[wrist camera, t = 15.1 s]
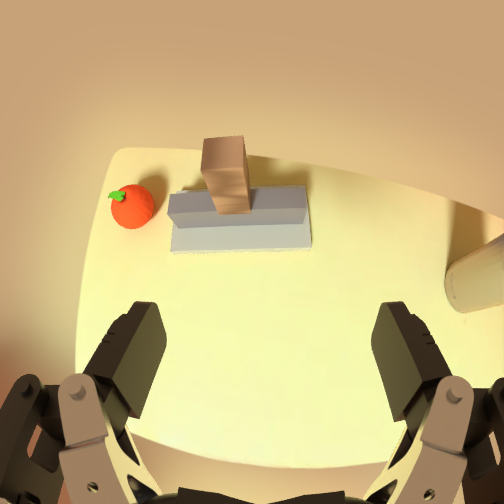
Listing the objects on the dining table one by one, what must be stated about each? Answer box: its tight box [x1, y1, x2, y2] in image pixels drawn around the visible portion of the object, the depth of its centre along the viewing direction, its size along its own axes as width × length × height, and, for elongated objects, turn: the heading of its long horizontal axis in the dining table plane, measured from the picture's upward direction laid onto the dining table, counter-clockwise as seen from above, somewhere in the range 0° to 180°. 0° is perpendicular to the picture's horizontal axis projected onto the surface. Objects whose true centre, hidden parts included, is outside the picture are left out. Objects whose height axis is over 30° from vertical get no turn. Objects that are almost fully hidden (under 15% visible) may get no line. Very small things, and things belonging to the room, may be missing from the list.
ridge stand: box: [167, 185, 312, 254], centre depth 38 cm, size 20×10×6 cm, turn 91°
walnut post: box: [201, 136, 251, 215], centre depth 30 cm, size 4×4×10 cm
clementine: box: [108, 184, 154, 229], centre depth 39 cm, size 8×7×7 cm
